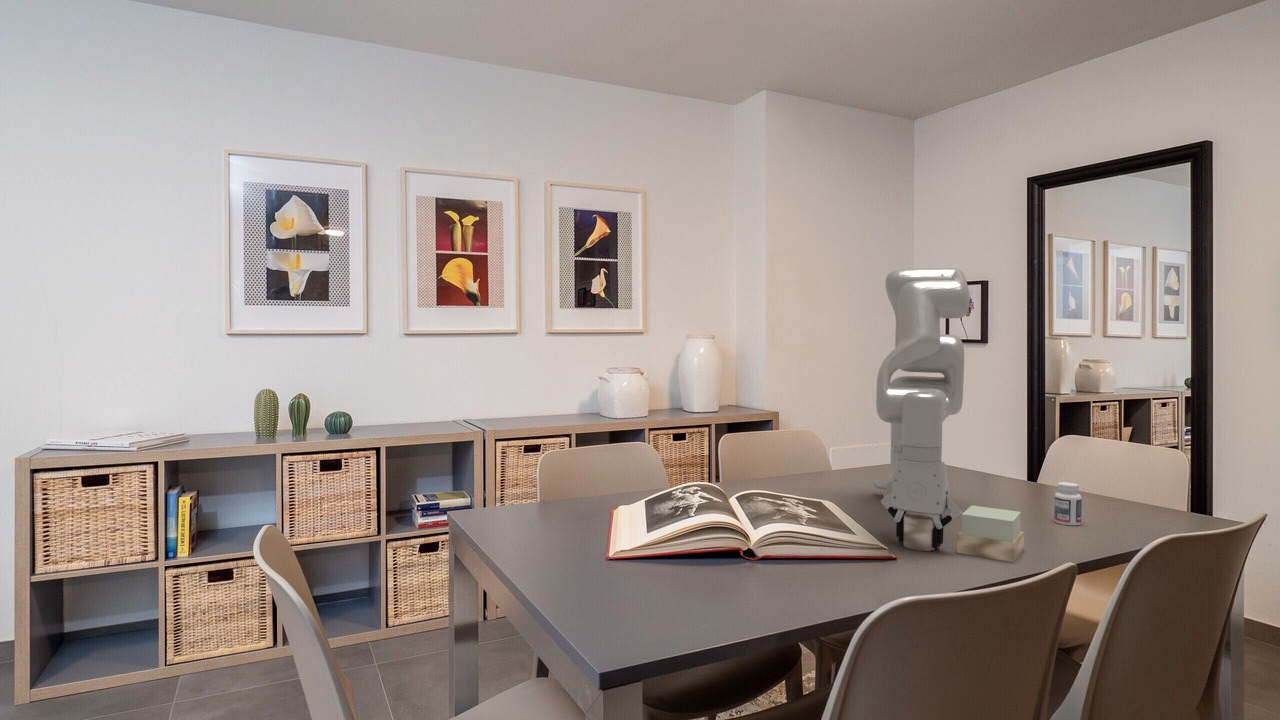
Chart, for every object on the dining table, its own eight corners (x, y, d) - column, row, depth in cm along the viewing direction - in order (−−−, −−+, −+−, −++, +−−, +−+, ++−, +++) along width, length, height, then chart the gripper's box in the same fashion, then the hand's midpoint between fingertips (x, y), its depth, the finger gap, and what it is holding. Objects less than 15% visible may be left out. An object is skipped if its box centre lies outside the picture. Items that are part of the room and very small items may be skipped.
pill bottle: (1074, 520, 167) (1075, 481, 167) (1085, 526, 162) (1086, 486, 162) (1049, 519, 168) (1050, 481, 168) (1060, 525, 163) (1061, 486, 162)
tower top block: (961, 534, 142) (961, 514, 142) (971, 524, 149) (971, 505, 149) (1012, 542, 137) (1013, 521, 137) (1020, 531, 144) (1020, 511, 144)
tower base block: (956, 554, 142) (957, 534, 142) (969, 542, 150) (970, 523, 150) (1013, 564, 136) (1014, 543, 136) (1023, 552, 144) (1024, 531, 144)
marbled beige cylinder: (899, 547, 145) (899, 517, 145) (908, 540, 150) (909, 511, 150) (930, 552, 142) (931, 522, 141) (939, 545, 146) (939, 515, 146)
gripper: (871, 452, 147) (870, 540, 148) (962, 461, 137) (960, 556, 138) (884, 447, 153) (882, 532, 154) (972, 456, 143) (970, 547, 144)
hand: (919, 543), depth 146 cm, fingers closed on marbled beige cylinder, 6 cm apart
